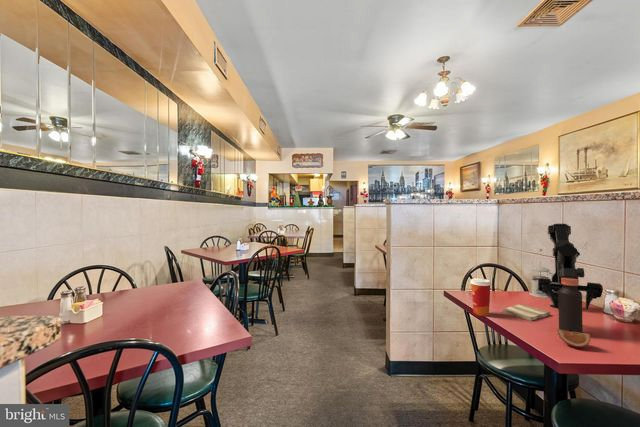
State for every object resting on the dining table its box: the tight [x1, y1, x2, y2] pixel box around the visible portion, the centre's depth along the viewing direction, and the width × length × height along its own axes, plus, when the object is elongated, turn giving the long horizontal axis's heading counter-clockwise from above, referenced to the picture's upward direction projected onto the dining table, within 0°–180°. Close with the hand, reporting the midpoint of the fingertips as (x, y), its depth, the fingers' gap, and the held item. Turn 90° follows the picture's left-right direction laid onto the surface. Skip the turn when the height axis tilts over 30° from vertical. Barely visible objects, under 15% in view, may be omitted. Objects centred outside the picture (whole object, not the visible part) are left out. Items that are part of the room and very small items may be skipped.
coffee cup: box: [469, 277, 492, 317], centre depth 129 cm, size 8×8×15 cm
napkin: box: [501, 303, 551, 322], centre depth 128 cm, size 14×12×2 cm
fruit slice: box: [557, 328, 591, 349], centre depth 98 cm, size 8×7×5 cm
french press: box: [529, 248, 554, 299], centre depth 155 cm, size 10×12×25 cm
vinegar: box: [557, 277, 584, 333], centre depth 108 cm, size 7×7×20 cm
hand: (570, 306), depth 107 cm, fingers open, 9 cm apart
